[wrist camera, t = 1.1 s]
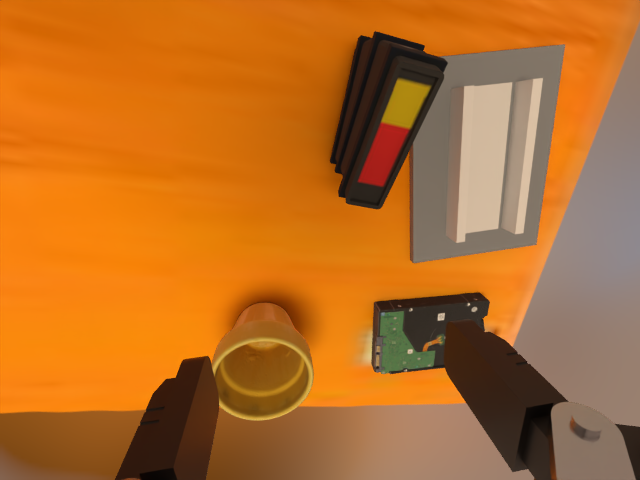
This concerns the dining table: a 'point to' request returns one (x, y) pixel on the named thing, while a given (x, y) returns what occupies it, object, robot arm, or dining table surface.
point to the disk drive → (419, 330)
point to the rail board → (484, 154)
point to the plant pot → (262, 365)
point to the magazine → (382, 114)
